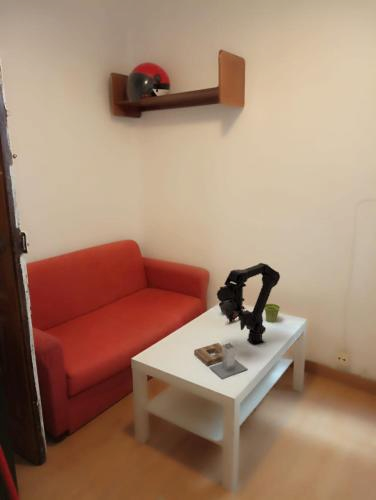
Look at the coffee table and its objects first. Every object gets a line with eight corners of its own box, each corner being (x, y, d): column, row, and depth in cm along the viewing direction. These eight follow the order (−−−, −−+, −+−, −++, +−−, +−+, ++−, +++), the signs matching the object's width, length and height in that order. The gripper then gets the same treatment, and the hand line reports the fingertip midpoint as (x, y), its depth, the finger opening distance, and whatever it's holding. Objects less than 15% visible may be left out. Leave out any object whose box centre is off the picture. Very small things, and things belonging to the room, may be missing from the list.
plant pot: (279, 317, 219) (279, 303, 217) (279, 324, 210) (280, 310, 208) (263, 316, 221) (263, 303, 219) (263, 323, 212) (263, 309, 210)
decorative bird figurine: (221, 324, 211) (221, 308, 209) (244, 316, 221) (244, 301, 219) (225, 326, 209) (225, 310, 206) (247, 318, 219) (247, 302, 216)
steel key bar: (229, 364, 169) (229, 343, 167) (234, 368, 166) (234, 346, 163) (222, 367, 168) (222, 345, 165) (227, 371, 164) (227, 349, 161)
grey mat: (234, 359, 174) (234, 358, 174) (247, 370, 166) (247, 368, 166) (209, 368, 168) (209, 367, 168) (221, 379, 159) (221, 378, 159)
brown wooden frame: (218, 347, 186) (218, 342, 186) (231, 357, 176) (231, 353, 176) (194, 354, 180) (194, 350, 179) (207, 366, 170) (207, 361, 169)
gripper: (212, 293, 180) (212, 322, 184) (234, 306, 164) (234, 338, 168) (230, 289, 185) (230, 317, 189) (254, 301, 170) (253, 332, 173)
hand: (236, 326), depth 180 cm, fingers open, 9 cm apart
